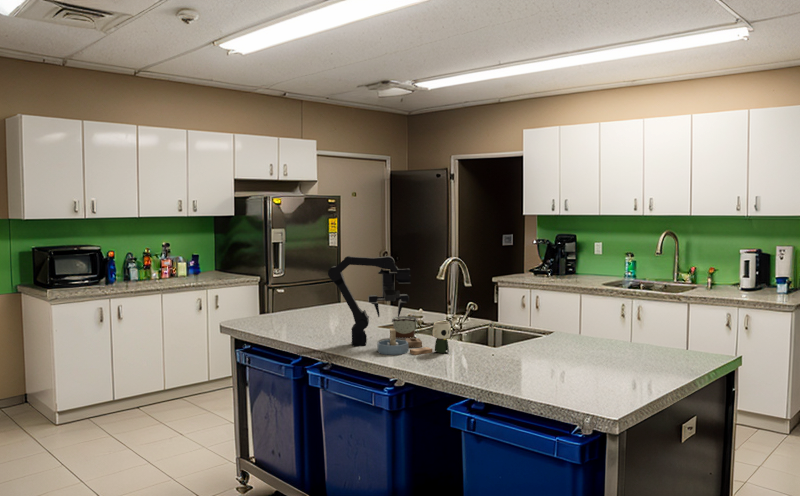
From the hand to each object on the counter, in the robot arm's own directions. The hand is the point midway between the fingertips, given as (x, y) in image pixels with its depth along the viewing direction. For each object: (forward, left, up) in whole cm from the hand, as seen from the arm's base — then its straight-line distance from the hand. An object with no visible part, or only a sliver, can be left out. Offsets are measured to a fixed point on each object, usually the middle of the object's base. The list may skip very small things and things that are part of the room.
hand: (388, 316), depth 283 cm
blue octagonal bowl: (0, -15, -13) cm, 20 cm away
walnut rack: (+11, -4, -13) cm, 17 cm away
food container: (+10, +16, -13) cm, 23 cm away
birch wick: (0, -15, -12) cm, 19 cm away
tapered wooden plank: (+12, -19, -14) cm, 26 cm away
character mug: (+21, -20, -13) cm, 32 cm away
